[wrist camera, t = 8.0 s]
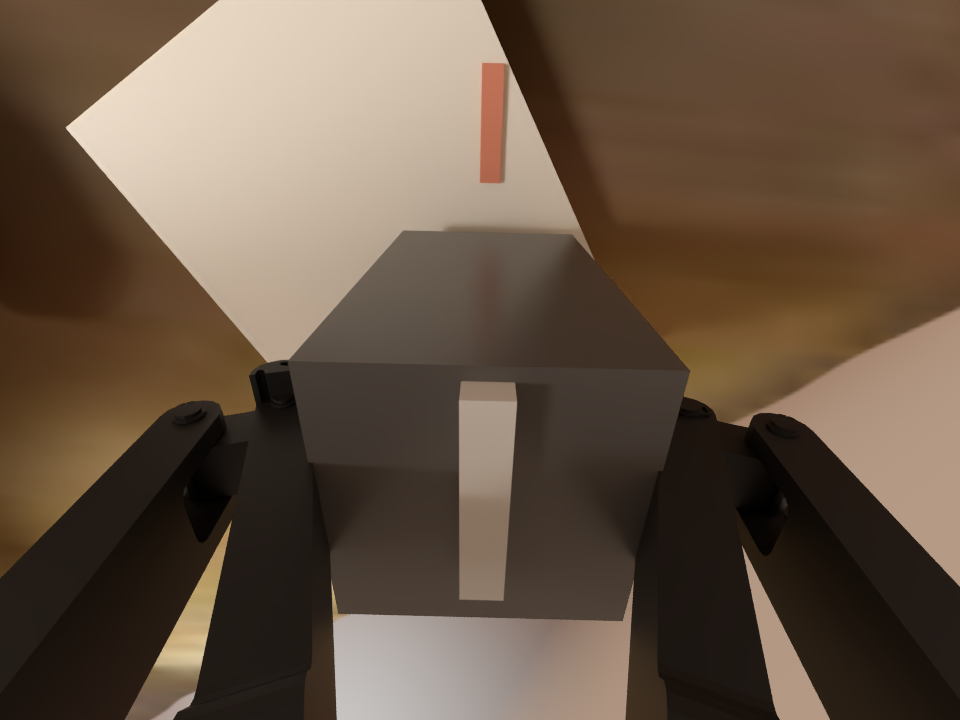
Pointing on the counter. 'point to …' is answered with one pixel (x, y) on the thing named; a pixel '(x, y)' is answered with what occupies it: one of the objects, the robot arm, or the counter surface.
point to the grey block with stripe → (486, 429)
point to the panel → (321, 148)
